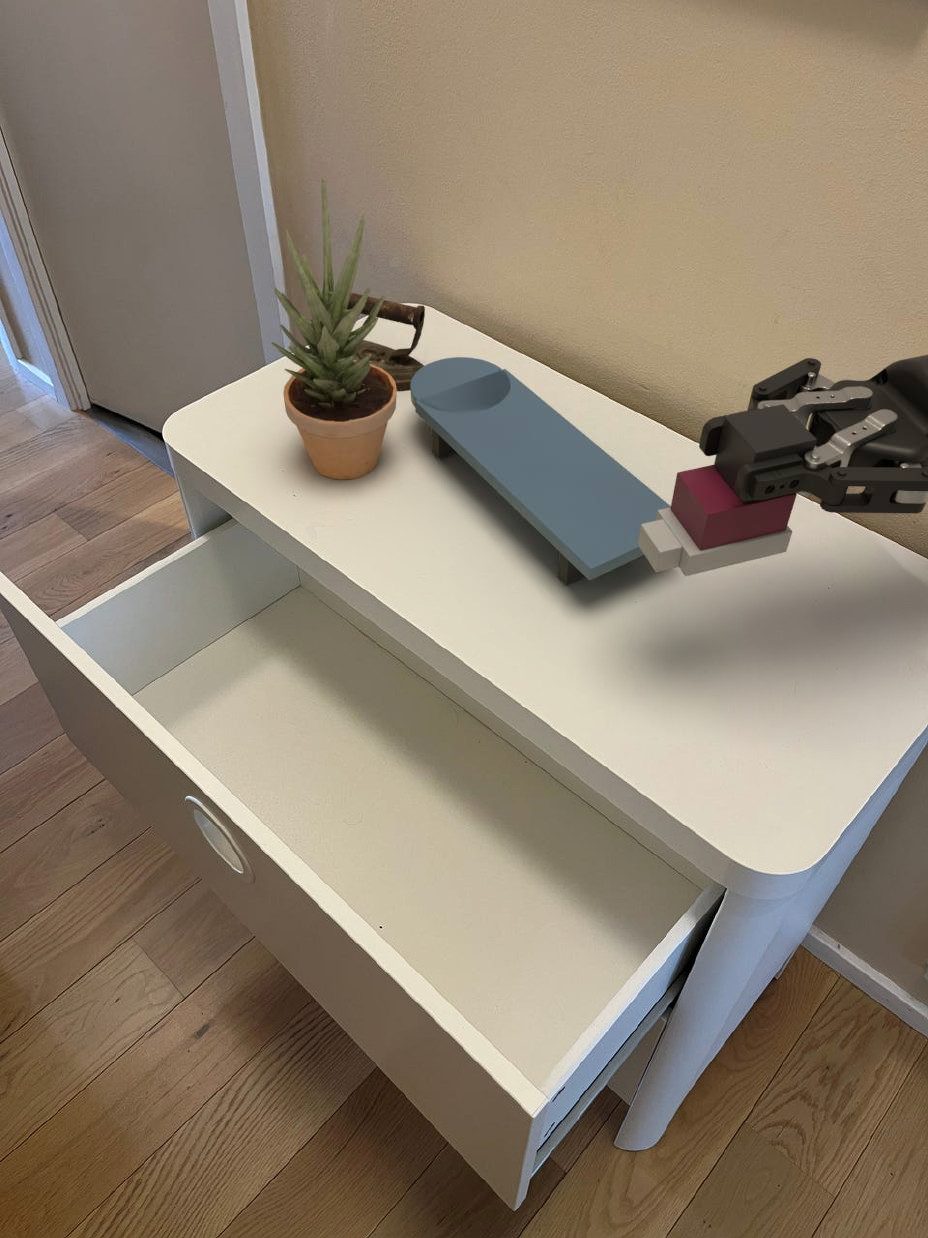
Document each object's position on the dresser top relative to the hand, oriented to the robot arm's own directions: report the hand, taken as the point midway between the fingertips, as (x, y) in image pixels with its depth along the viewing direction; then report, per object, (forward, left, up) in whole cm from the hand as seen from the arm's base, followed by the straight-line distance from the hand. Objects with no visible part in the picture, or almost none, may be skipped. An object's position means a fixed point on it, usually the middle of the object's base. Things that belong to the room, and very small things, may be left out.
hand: (722, 461), depth 58 cm
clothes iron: (+40, -19, -18) cm, 47 cm away
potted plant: (+34, -6, -18) cm, 39 cm away
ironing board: (+19, -10, -18) cm, 28 cm away
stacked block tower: (-1, -1, -7) cm, 7 cm away
